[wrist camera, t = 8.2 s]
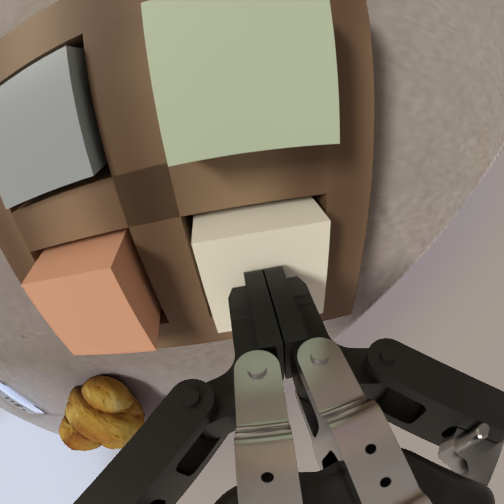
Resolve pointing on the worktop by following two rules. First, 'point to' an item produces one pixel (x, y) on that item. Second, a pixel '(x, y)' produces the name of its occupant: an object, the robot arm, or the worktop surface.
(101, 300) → the key terracotta
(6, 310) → the worktop surface
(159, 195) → the keypad
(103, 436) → the bread roll
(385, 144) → the worktop surface
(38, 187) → the key slate
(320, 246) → the key cream
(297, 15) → the key sage
